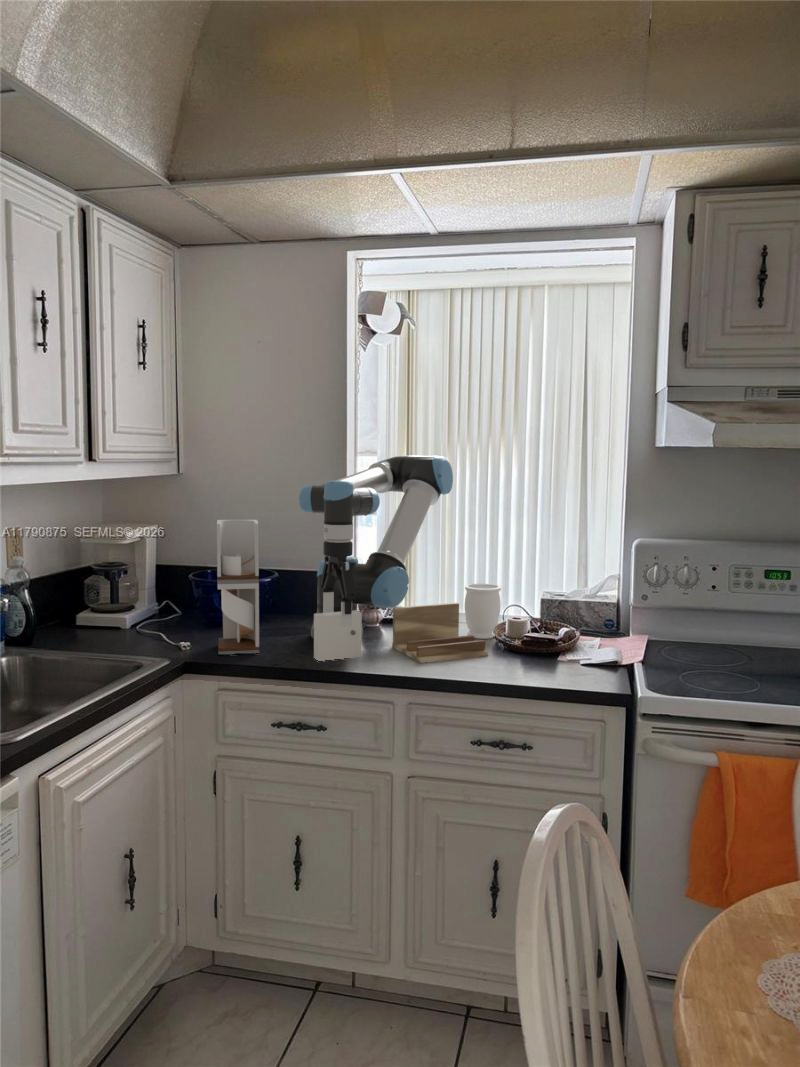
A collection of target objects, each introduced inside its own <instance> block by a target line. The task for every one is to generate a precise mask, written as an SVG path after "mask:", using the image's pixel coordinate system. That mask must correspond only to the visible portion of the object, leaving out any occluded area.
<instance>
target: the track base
mask: <svg viewBox="0 0 800 1067" xmlns="http://www.w3.org/2000/svg"><path fill="white" fill-rule="evenodd" d="M459 621H460V603H459V602H448V603H436V604H435V603H434V604H425V605H423V604H421V605H411V606H410V605H408V606H395V607H392V642H391V643H392V644H391V645H392V646H391V647H392V648H394V649H395V650H397V651H398V652H400V653H402V654H404V655H405V654H406V656H407V657H409V658H410V659H412V660H414V661H416V662H418V663H420V664H426V663H425V662H427V663H434V662H435V661H436V662H443V661H442V660H445V661H451V659H454V660H460V659H461V660H462V659H469V658H479V657H487V656H488V653H489V651H488V650H486V640H485V639H477V640H475V638H474V636H473V635H469V636H468V635H462V636H461V635H460V636H459V632H460V630H459V626H460V625H459V624H460V622H459Z"/></svg>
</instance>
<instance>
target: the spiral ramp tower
mask: <svg viewBox="0 0 800 1067" xmlns="http://www.w3.org/2000/svg"><path fill="white" fill-rule="evenodd" d="M258 521H259V520H258V519H217V522H216V562H217V563H216V566H217V567H216V569H217V570H216V572H217V573H216V576H217V579H216V580H217V583H216V584H217V590H221V591H220V594H221V596H220V597H221V600H220V601H221V611H222V637H219V638H218V647H217V648H218V649H217V652H218V653H217V654H235V653H259V654H260V598H259V597H260V580H259V576H260V575H259V573H260V572H259V571H260V569H259V568H260V566H259V563H260V561H259V559H260V558H259V556H260V555H259V554H260V552H259V546H260V545H259V522H258Z"/></svg>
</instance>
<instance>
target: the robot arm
mask: <svg viewBox="0 0 800 1067" xmlns="http://www.w3.org/2000/svg"><path fill="white" fill-rule="evenodd" d="M453 473H454V472H453V469H452V465H451V463H450V461H449V459H448V458H447V457H446V456H442V455H436V454H435V455H434V454H433V455H407V454H404V455H397V456H396V455H395V456H393V457H389V458H387V459H383V460H381V461H377V462H374V463H372V464H371V465H370V466H369V467H368V468H367V469H364V470H362V471H359V472H356V473H353V474H350V475H347V476H344V477H342V478H339V479H336V480H328V481H326V482H325V483H324V484H321V485H315V484H312V485H305V486H303V487H302V489H300V492H299V496H298V502H299V503H298V504H299V507H300V509H301V510H302V511H304V513H305V512H306V513H312V514H323V528H322V529H321V530H322V532H323V539H324V542H323V552H322V553H323V555H324V559H323V560H321V561H320V562H319V563H318V565H317V573H316V578H317V579H316V584H317V585H316V586H317V589H316V590H317V591H316V593H317V594H316V595H317V596H316V598H317V599H316V600H317V602H316V604H317V606H316V607H317V609H316V610H317V611H316V614H317V613H330V612H341V627H350V626H352V611H355V610H357V611H358V605H360V606H368V607H376V608H378V609H383V608H386V609H388V608H389V609H391V608H392V609H393V608H395V607H398V606H399V605H400V604H401V603H402V602H403V601H404V599H405V598H406V595H407V593H408V590H409V586H408V585H409V584H410V578H409V577H410V576H409V574H408V571H407V570H408V569H407V566H406V565H405V564H406V561H407V559H408V556H409V554H410V552H411V549H412V547H413V545H414V543H415V541H416V539H417V536H418V533H419V531H420V529H421V527H422V524H423V523H424V521H425V518H426V516H427V513H428V511H429V509H430V508H431V506H434V505H435V504H436V503H438V501H439V499H440V497H441V495H443V496H445V495H447V494H450V493H451V491H452V488H453V483H454V474H453ZM388 492H393V493H395V492H399V493H403V496H402V498H401V501H400V503H399V505H397V506H398V507H397V509H396V511H395V513H394V515H393V517H392V520H391V522H390V523H389V526H388V528H387V530H386V532H385V535H384V537H383V538H382V541H381V543H380V545H379V547H378V549H377V551H375V552H372V553H370V555H369V556H368V558H367V560H366V562H365V563H359V560H358V558H357V557H356V556H352V555H353V541H351V540H353V538H354V524H353V523H354V521H353V519H354V517H360V516H364V517H365V516H369V515H373V514H374V513H375V512H377V511H378V509H379V507H380V502H381V500H380V495H379V494H385V493H388ZM310 635H311V636H310V637H311V638H312V639H313V640H314V622H313V623H312V626H311V631H310ZM363 637H364V627H363V626H362V638H363Z"/></svg>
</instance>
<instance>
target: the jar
mask: <svg viewBox="0 0 800 1067" xmlns="http://www.w3.org/2000/svg"><path fill="white" fill-rule="evenodd" d="M464 590H465V591H466V594H465V598H464V615H465V621H466V622H465V623H466V626H467V629H468V630H469V631H468V632H467V635H466V636H469V635H473V636H474V639H477V640H487V639H488V640H491V639H494V638H493V636H492V631H493V629H494V628H495V626H497V627H498V624H499V620H500V619H499V618H500V615H501V606H502V605H501V604H502V603H501V596H500V592H501V590H502V586H500V585H497V584H491V583H470V584H466V585H465V587H464Z"/></svg>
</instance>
